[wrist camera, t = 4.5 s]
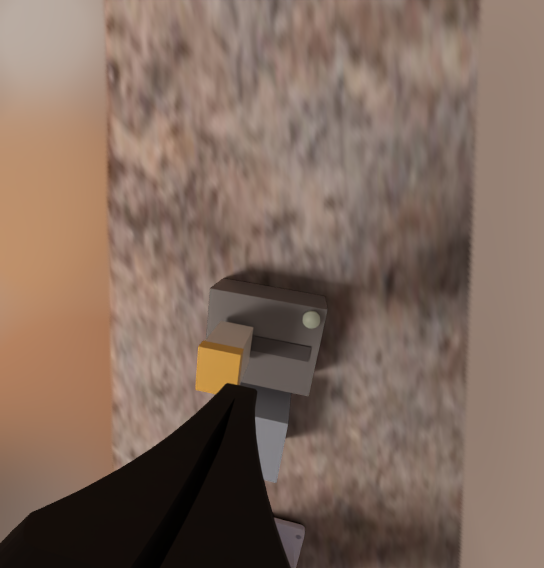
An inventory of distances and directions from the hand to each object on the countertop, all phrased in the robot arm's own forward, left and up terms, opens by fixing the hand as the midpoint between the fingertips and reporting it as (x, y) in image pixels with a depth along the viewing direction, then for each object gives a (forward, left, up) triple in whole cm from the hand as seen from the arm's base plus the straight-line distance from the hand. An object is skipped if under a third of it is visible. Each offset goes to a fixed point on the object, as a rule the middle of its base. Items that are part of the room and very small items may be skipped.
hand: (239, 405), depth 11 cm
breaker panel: (0, 0, -8) cm, 8 cm away
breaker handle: (0, +2, -5) cm, 5 cm away
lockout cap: (-7, 0, -8) cm, 10 cm away
